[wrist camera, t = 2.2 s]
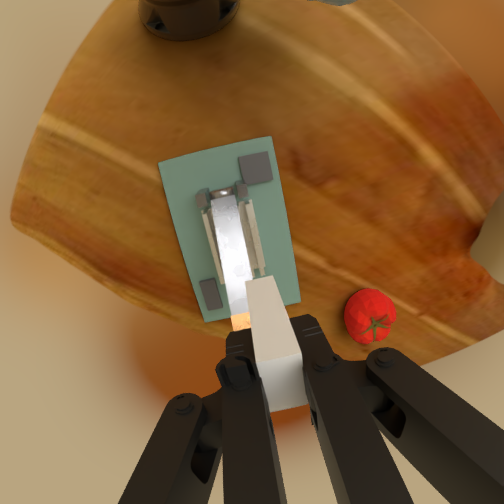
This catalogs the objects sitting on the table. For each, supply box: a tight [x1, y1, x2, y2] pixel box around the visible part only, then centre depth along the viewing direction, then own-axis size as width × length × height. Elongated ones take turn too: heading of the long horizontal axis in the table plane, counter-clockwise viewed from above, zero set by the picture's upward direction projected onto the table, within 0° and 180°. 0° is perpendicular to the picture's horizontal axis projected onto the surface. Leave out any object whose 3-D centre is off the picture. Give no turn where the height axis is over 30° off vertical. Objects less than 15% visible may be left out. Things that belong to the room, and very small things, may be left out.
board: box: [158, 136, 301, 322], centre depth 41 cm, size 26×16×2 cm, turn 12°
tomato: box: [344, 288, 396, 344], centre depth 45 cm, size 9×9×8 cm
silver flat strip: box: [209, 186, 253, 331], centre depth 32 cm, size 18×3×1 cm
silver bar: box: [195, 179, 266, 284], centre depth 38 cm, size 17×8×6 cm, turn 12°
